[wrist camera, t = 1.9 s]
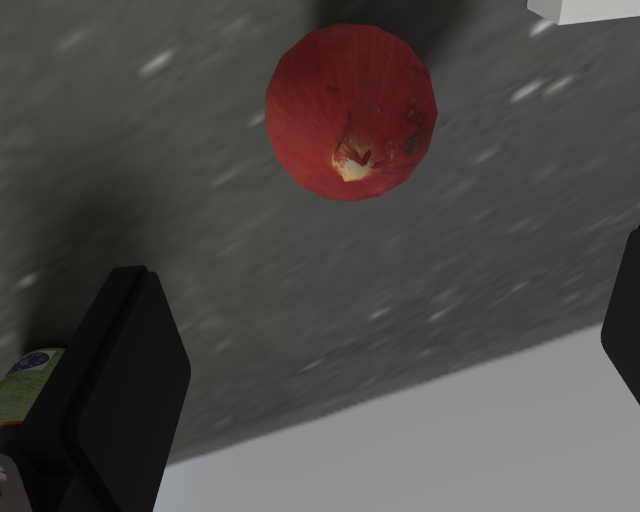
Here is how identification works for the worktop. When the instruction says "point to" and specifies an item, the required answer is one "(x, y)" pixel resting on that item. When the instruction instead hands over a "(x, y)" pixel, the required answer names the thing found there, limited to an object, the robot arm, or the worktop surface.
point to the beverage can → (23, 389)
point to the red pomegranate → (350, 112)
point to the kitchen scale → (583, 10)
